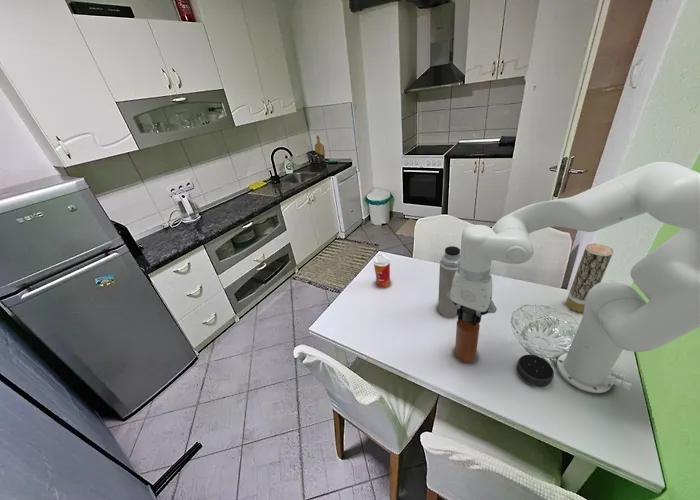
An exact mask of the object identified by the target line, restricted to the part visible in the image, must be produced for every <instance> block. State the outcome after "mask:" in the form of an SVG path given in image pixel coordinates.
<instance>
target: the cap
mask: <svg viewBox="0 0 700 500" xmlns="http://www.w3.org/2000/svg"><path fill="white" fill-rule="evenodd" d="M475 314H476V310H474V309H471V308H468V307H465V306H463V307H462V316H461V317H462V319H463V320H464V321H465V322H469V323H471V322H473V320H474V315H475Z"/></svg>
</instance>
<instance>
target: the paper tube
mask: <svg viewBox="0 0 700 500" xmlns="http://www.w3.org/2000/svg"><path fill="white" fill-rule="evenodd" d="M613 254H614V249H613V248H612V247H610V246H608V245H605V244H601V243H588V244H586V245H585V248H584V250H583V254H582V256H581V259H580V261H579V265H578V268H577V270H576V273H575V276H574V278H573V282H572V284H571V287H570V290H569V293H568V296H567V298H566V302H565V305H566V306H567V307H568V309H570V310H572V311H574V312H577V313H584V307H585V301H586V297H587V294H588V292H589V291H590V289H591V288H592V287H593V286H595V285H596V284H598V283H600V282H602V280H603V277H604V275H605V273H606V270H607V268H608V266H609V264H610V261H611V258H612V256H613Z"/></svg>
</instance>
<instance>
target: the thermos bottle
mask: <svg viewBox="0 0 700 500" xmlns="http://www.w3.org/2000/svg"><path fill="white" fill-rule="evenodd" d="M460 251H461V248H459V247H457V246H453V245H449V246H447V247H445V249H444V254H443V255H442V256H441V260H440V261H439V273H438V275H439V277H438V298H437V311H438V313H439V314H440V315H442V316H443V317H446V318H454V317H458V315H457V308H456V305H455V304H454V303H453V302H452V300H451V299H450V298H448V297H447V296H446V294H447V293H448V292H449V291H450V290H451V288H452V283H453V278H454V275H455V272H456V271H457V270H458V267H457V266H454V263H455V261H457V262H458V261H459V262H460Z"/></svg>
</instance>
